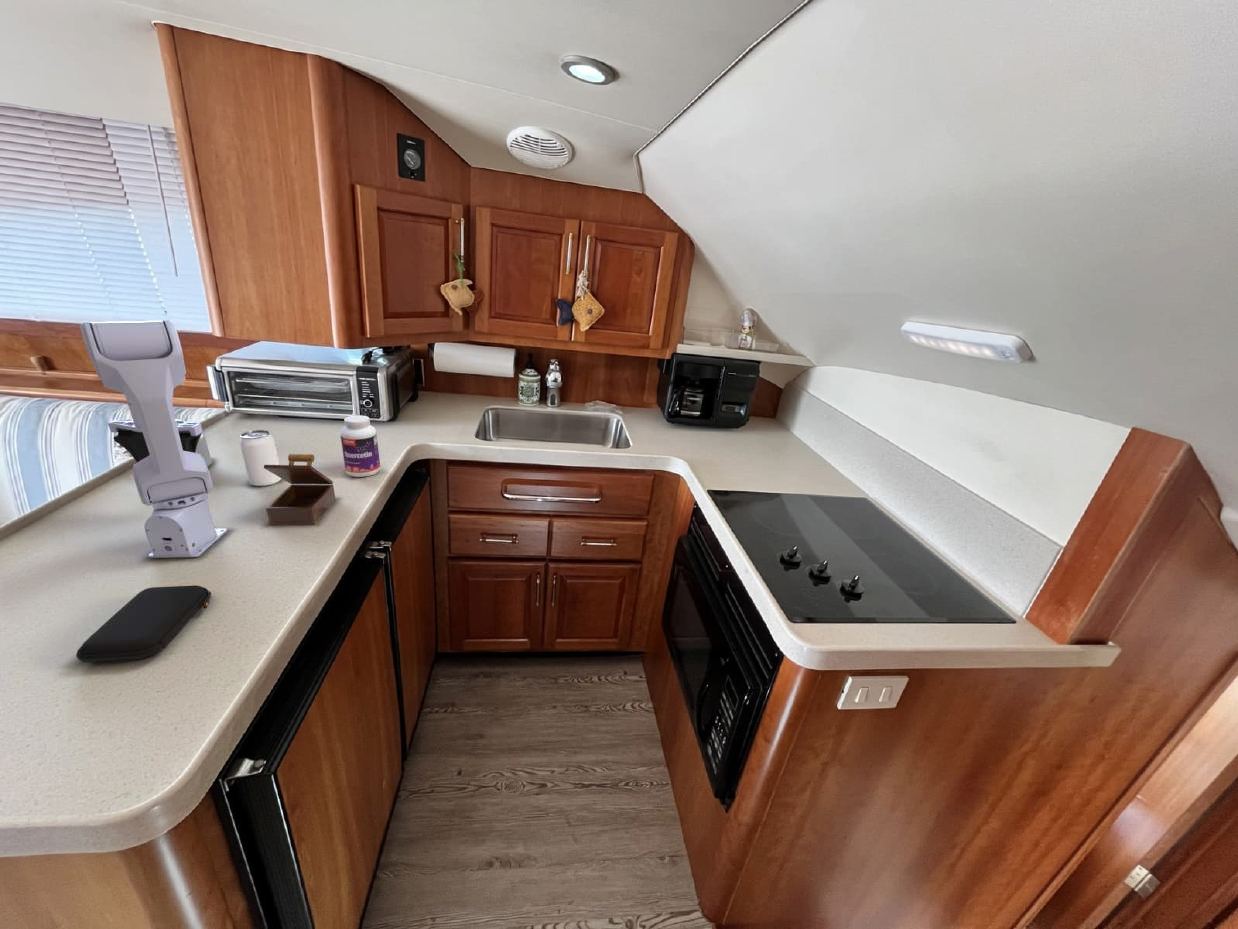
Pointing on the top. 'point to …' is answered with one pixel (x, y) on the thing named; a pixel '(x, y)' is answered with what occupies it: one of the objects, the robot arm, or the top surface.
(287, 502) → the keepsake box
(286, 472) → the lid
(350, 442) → the pill bottle
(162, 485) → the robot arm
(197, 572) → the top surface
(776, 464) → the top surface
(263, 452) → the can
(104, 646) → the carrying case
